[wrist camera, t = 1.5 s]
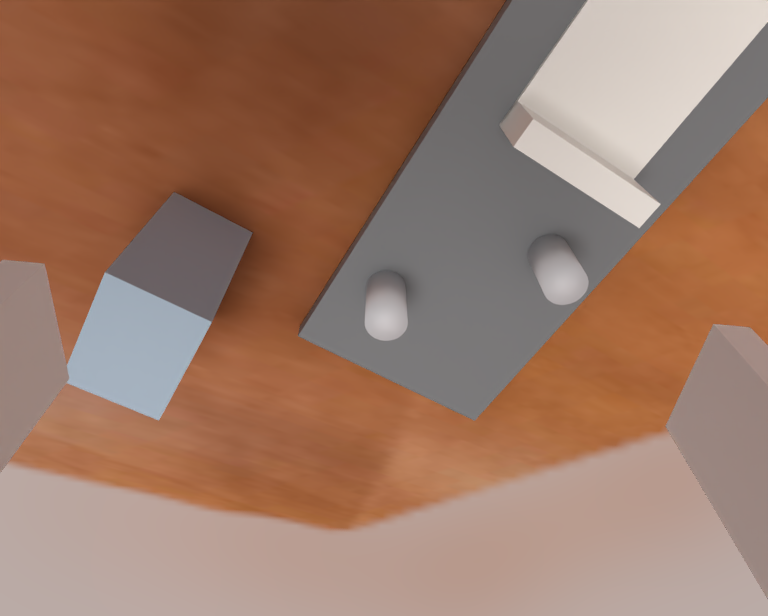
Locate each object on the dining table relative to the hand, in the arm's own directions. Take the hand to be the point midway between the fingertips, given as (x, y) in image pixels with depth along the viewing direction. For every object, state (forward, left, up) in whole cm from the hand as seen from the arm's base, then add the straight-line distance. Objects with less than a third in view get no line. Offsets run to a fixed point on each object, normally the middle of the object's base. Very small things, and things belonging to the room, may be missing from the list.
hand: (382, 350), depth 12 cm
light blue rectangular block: (-5, -14, -23) cm, 28 cm away
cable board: (+10, +1, -23) cm, 25 cm away
